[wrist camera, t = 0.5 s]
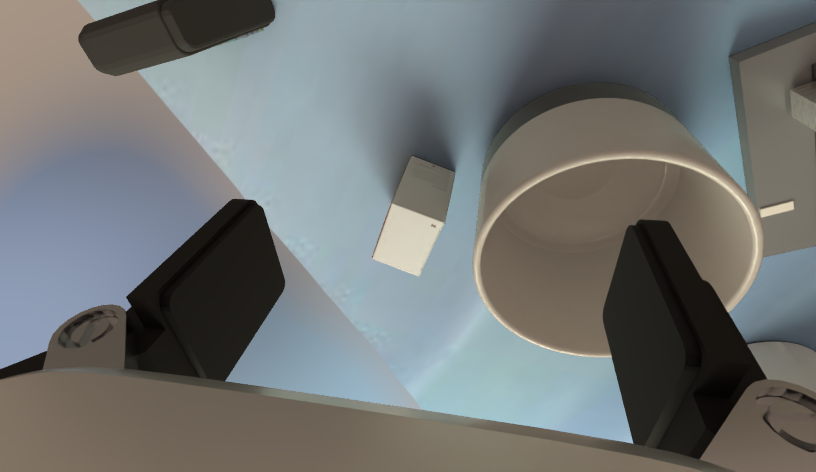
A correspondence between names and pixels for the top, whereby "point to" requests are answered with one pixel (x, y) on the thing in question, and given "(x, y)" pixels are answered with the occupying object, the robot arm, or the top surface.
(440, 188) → the small box
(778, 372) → the utensil holder
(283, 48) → the top surface
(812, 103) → the fader tab
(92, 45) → the card reader
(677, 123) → the planter
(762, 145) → the console board
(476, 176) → the top surface
